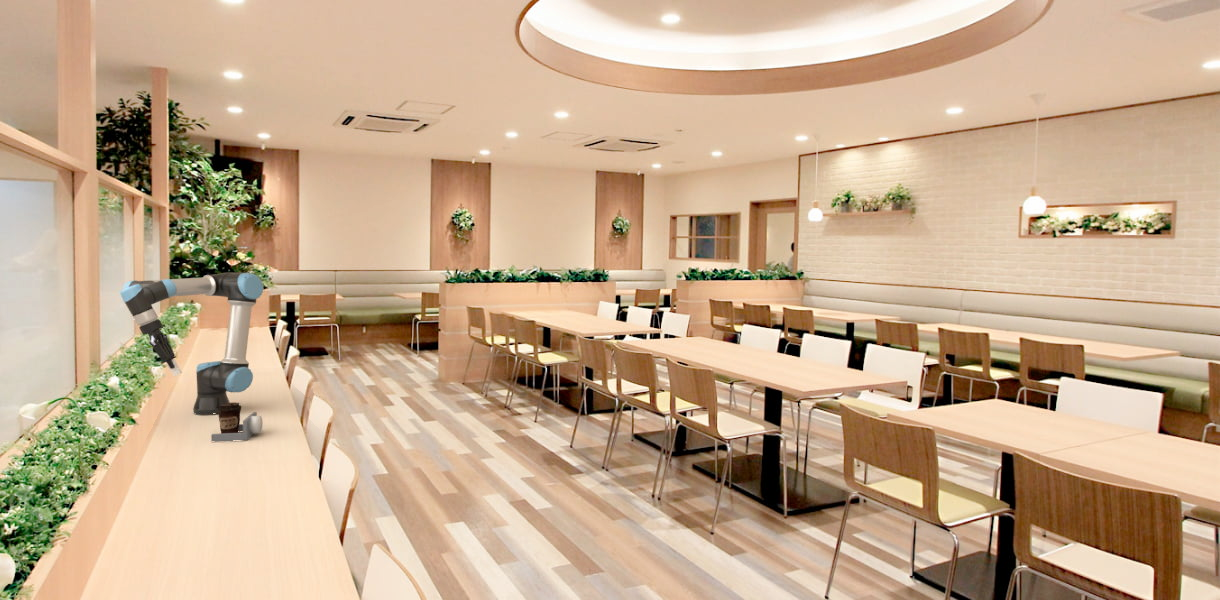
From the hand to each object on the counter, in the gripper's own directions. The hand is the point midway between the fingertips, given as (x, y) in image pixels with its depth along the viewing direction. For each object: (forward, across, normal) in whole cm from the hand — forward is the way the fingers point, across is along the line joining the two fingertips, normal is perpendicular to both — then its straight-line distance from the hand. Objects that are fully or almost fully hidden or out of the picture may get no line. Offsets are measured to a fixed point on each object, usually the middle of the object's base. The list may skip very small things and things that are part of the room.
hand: (178, 374), depth 290 cm
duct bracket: (+31, +10, +12) cm, 35 cm away
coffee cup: (+30, +8, +9) cm, 33 cm away
